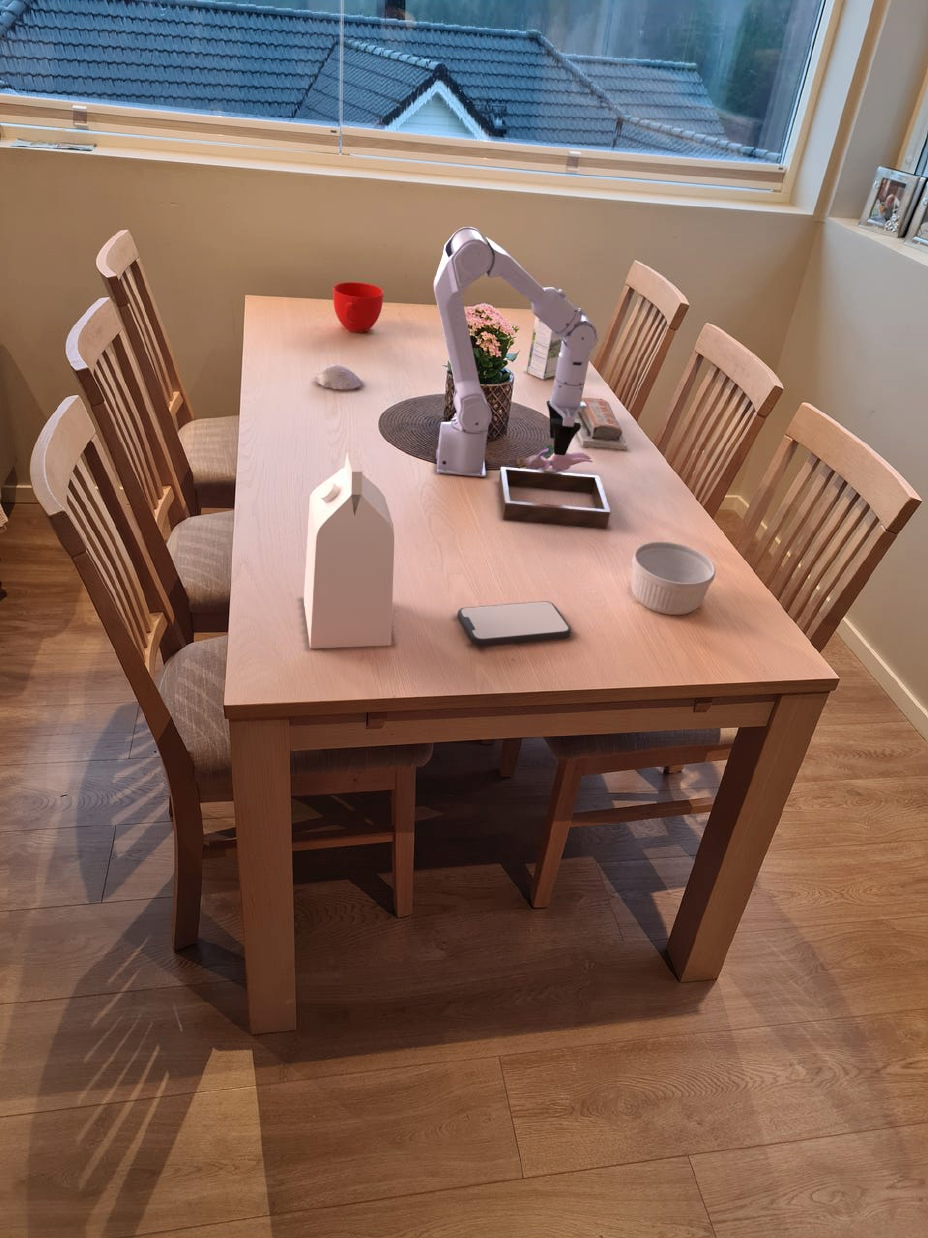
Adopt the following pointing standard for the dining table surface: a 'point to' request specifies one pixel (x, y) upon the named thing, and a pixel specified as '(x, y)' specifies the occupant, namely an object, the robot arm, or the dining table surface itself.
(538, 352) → the syrup box
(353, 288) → the ceramic cup
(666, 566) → the ramekin
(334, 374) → the seashell
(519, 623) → the black smartphone
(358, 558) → the milk
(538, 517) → the tray
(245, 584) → the dining table surface
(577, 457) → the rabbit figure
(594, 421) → the butter dish
